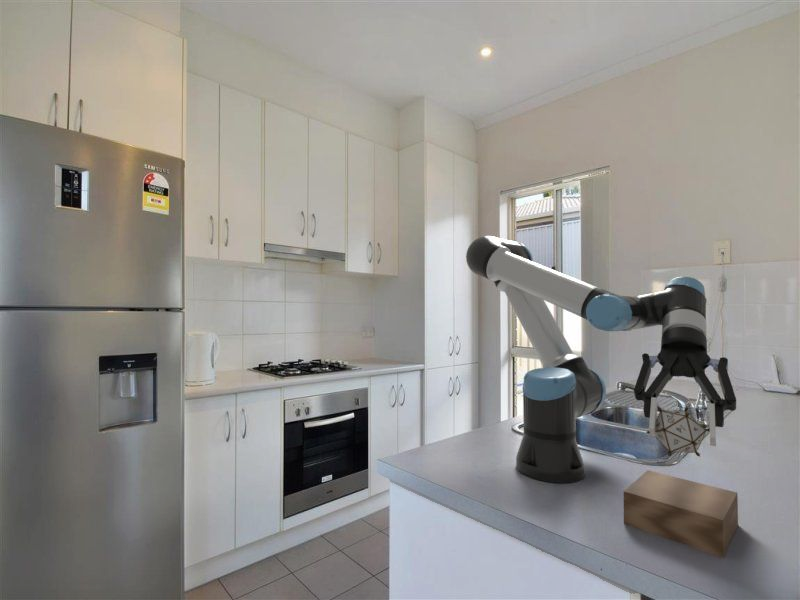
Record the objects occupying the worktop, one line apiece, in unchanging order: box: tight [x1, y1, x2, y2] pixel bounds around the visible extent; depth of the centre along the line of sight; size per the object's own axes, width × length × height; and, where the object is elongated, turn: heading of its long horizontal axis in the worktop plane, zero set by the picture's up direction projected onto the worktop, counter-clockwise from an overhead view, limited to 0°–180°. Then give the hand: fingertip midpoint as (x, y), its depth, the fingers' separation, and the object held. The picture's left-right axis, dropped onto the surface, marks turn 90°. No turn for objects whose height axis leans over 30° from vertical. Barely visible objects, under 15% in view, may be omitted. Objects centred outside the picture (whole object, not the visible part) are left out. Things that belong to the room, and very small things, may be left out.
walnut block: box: [623, 469, 739, 559], centre depth 72 cm, size 14×14×6 cm
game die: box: [645, 406, 710, 458], centre depth 73 cm, size 9×8×10 cm
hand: (681, 436), depth 70 cm, fingers closed on game die, 8 cm apart
